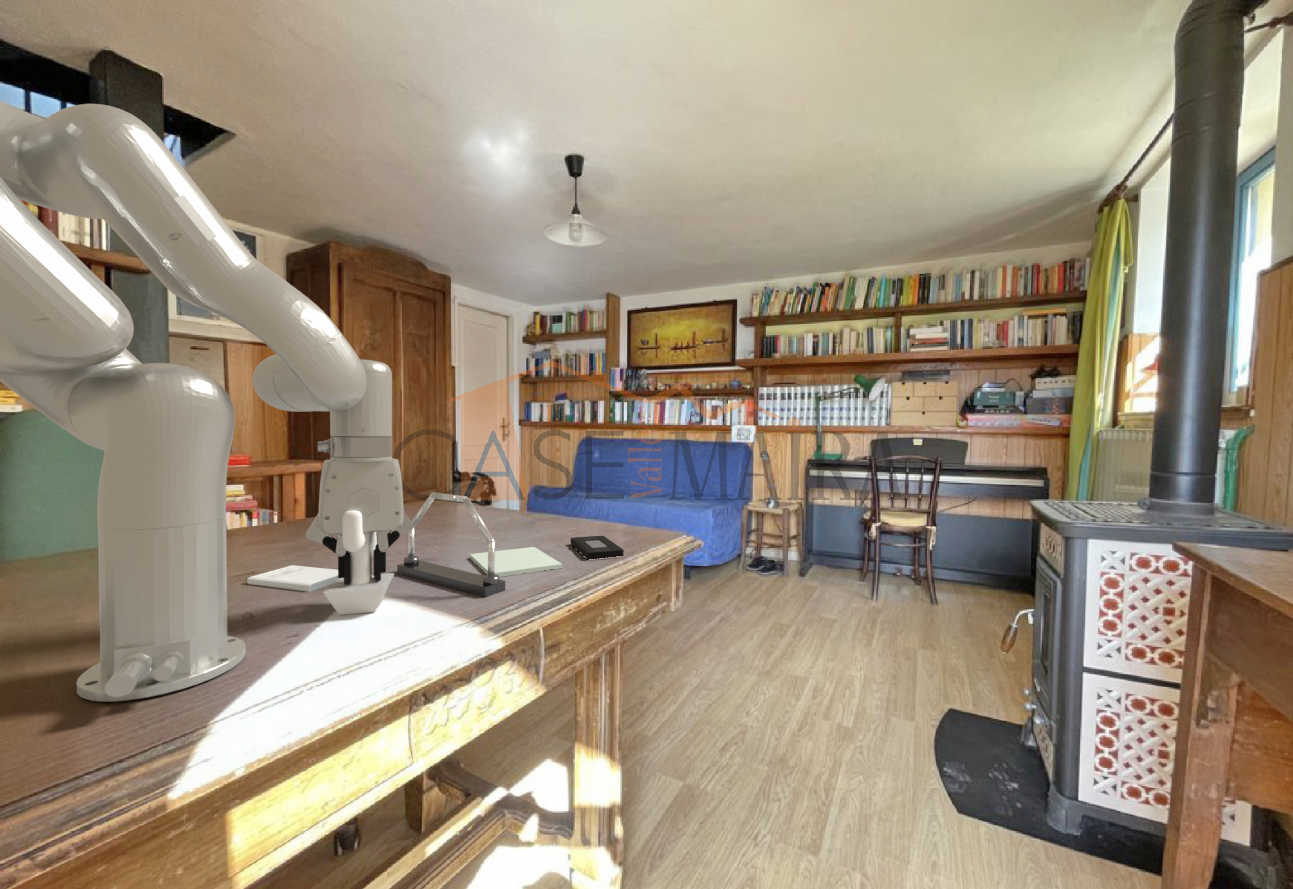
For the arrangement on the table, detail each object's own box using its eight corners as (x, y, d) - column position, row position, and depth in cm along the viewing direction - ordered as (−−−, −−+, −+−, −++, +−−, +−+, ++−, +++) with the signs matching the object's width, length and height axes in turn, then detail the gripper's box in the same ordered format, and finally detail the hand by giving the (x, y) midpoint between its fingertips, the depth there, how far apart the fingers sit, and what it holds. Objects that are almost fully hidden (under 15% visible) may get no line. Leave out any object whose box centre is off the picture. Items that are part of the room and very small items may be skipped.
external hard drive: (309, 595, 78) (246, 587, 81) (352, 579, 86) (294, 572, 89) (309, 584, 78) (246, 576, 81) (352, 570, 86) (294, 563, 89)
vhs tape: (603, 544, 115) (603, 535, 115) (623, 559, 102) (624, 549, 102) (570, 546, 113) (570, 537, 112) (587, 562, 99) (587, 552, 99)
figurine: (396, 594, 77) (395, 496, 76) (382, 617, 68) (380, 506, 67) (342, 599, 75) (341, 497, 74) (320, 623, 66) (318, 508, 65)
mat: (562, 568, 93) (562, 563, 93) (490, 578, 86) (490, 573, 86) (533, 550, 106) (534, 546, 106) (469, 558, 99) (469, 554, 99)
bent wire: (506, 590, 80) (507, 499, 80) (486, 597, 77) (487, 502, 76) (417, 567, 92) (417, 487, 91) (396, 573, 88) (396, 490, 88)
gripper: (288, 451, 63) (289, 597, 64) (429, 450, 72) (429, 579, 73) (291, 448, 70) (292, 581, 70) (421, 448, 78) (421, 566, 79)
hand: (362, 579), depth 71 cm, fingers closed on figurine, 3 cm apart
